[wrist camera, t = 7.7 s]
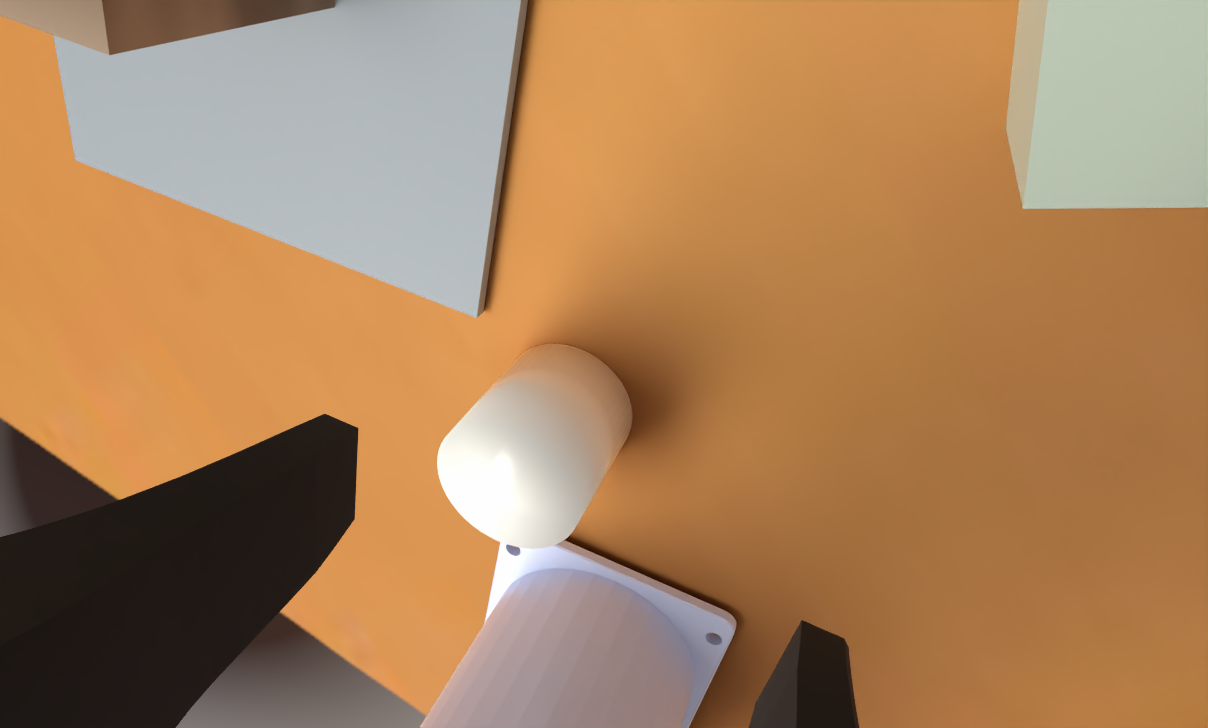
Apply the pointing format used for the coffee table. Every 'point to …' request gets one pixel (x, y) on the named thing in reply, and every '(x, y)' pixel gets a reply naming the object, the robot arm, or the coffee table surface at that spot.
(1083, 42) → the sage block
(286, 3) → the walnut block
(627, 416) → the cream rounded cylinder
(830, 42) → the coffee table surface
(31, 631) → the robot arm
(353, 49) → the slate board
